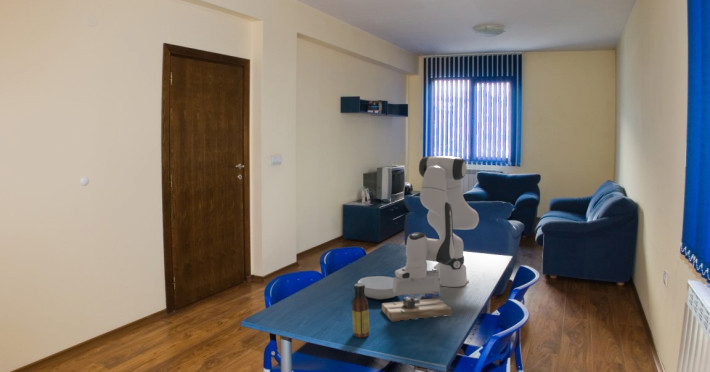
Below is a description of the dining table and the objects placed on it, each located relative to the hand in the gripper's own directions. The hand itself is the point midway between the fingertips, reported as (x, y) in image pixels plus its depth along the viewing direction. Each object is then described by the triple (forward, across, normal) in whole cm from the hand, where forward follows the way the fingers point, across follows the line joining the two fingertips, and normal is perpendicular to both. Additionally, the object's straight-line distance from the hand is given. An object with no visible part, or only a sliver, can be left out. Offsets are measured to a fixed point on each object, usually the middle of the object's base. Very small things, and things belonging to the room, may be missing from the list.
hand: (416, 303), depth 220 cm
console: (+4, 0, 0) cm, 4 cm away
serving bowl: (+4, +8, -25) cm, 27 cm away
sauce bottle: (+4, +29, +17) cm, 34 cm away
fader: (+1, +3, 0) cm, 3 cm away
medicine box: (+4, -15, -20) cm, 26 cm away
